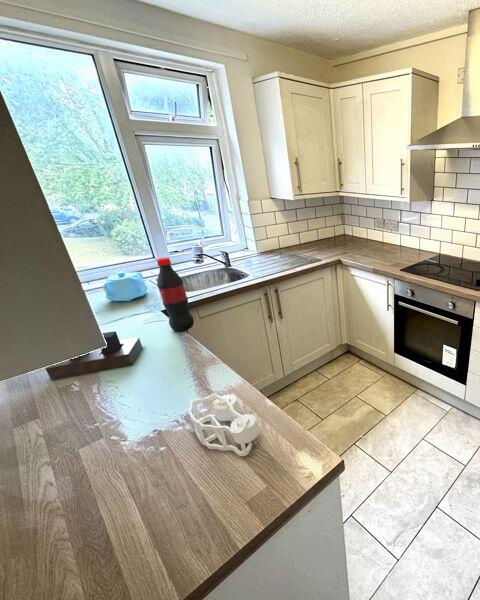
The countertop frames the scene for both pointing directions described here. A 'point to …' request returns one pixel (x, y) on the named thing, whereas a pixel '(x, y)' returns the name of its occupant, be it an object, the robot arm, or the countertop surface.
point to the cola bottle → (174, 296)
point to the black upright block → (111, 342)
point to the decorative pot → (124, 286)
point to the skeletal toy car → (224, 410)
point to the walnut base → (98, 361)
